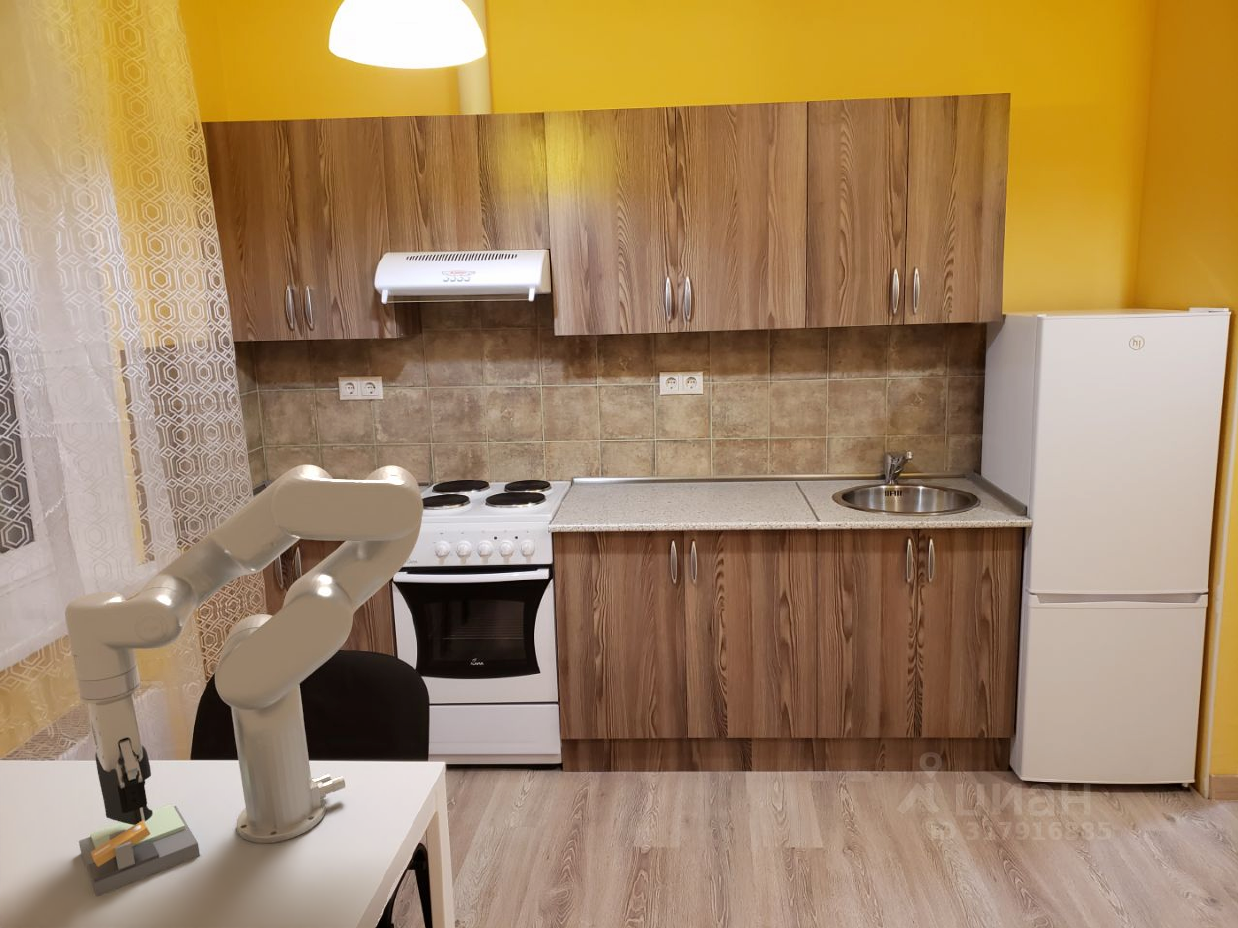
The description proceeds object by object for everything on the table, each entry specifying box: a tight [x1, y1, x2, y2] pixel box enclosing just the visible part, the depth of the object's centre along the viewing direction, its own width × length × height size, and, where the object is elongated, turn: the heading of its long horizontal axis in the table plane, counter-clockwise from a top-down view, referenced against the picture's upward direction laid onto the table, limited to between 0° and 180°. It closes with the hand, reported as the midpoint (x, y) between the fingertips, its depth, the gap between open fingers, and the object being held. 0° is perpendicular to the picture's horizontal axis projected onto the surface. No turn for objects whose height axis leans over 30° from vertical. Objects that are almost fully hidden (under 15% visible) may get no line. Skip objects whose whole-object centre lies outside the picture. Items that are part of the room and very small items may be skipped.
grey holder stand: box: [78, 803, 201, 897], centre depth 132 cm, size 13×12×6 cm
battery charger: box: [94, 745, 153, 825], centre depth 133 cm, size 7×4×11 cm, turn 67°
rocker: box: [91, 820, 150, 867], centre depth 127 cm, size 7×2×1 cm, turn 127°
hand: (128, 796), depth 133 cm, fingers closed on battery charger, 7 cm apart
